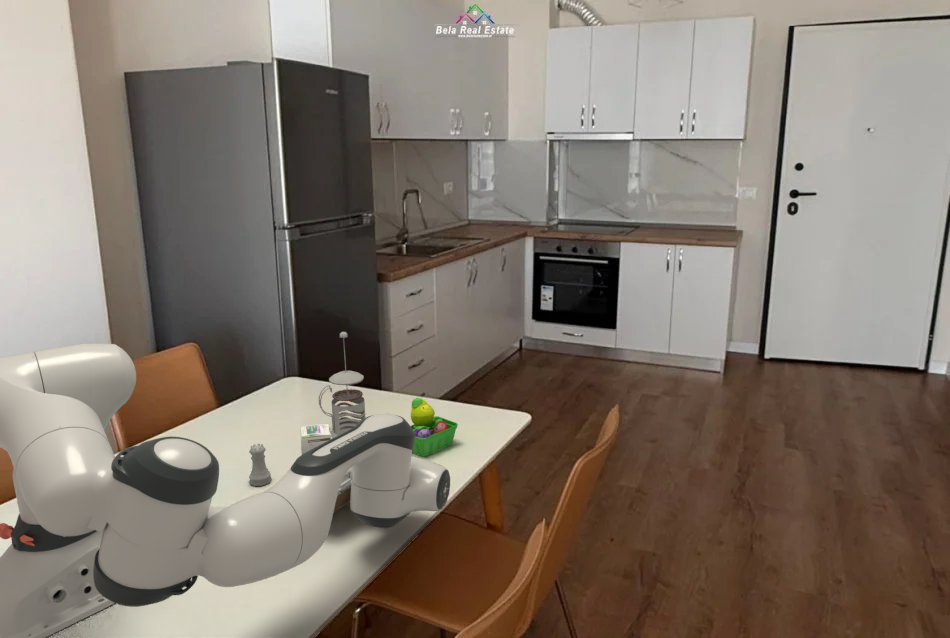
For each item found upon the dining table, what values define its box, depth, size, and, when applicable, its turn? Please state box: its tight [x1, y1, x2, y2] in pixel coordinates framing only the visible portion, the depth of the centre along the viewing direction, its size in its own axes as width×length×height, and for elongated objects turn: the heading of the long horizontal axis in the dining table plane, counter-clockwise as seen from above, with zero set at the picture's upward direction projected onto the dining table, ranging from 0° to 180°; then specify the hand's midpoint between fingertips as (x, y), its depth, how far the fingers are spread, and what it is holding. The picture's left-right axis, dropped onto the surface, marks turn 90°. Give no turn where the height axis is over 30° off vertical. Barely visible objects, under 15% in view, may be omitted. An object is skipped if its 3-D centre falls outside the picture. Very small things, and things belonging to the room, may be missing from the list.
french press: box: [318, 331, 366, 438], centre depth 169 cm, size 10×12×25 cm
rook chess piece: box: [248, 443, 272, 487], centre depth 147 cm, size 4×4×8 cm
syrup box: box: [300, 423, 332, 455], centre depth 139 cm, size 6×6×14 cm
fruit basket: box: [410, 397, 459, 458], centre depth 162 cm, size 11×9×11 cm
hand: (313, 457), depth 139 cm, fingers closed on syrup box, 8 cm apart
